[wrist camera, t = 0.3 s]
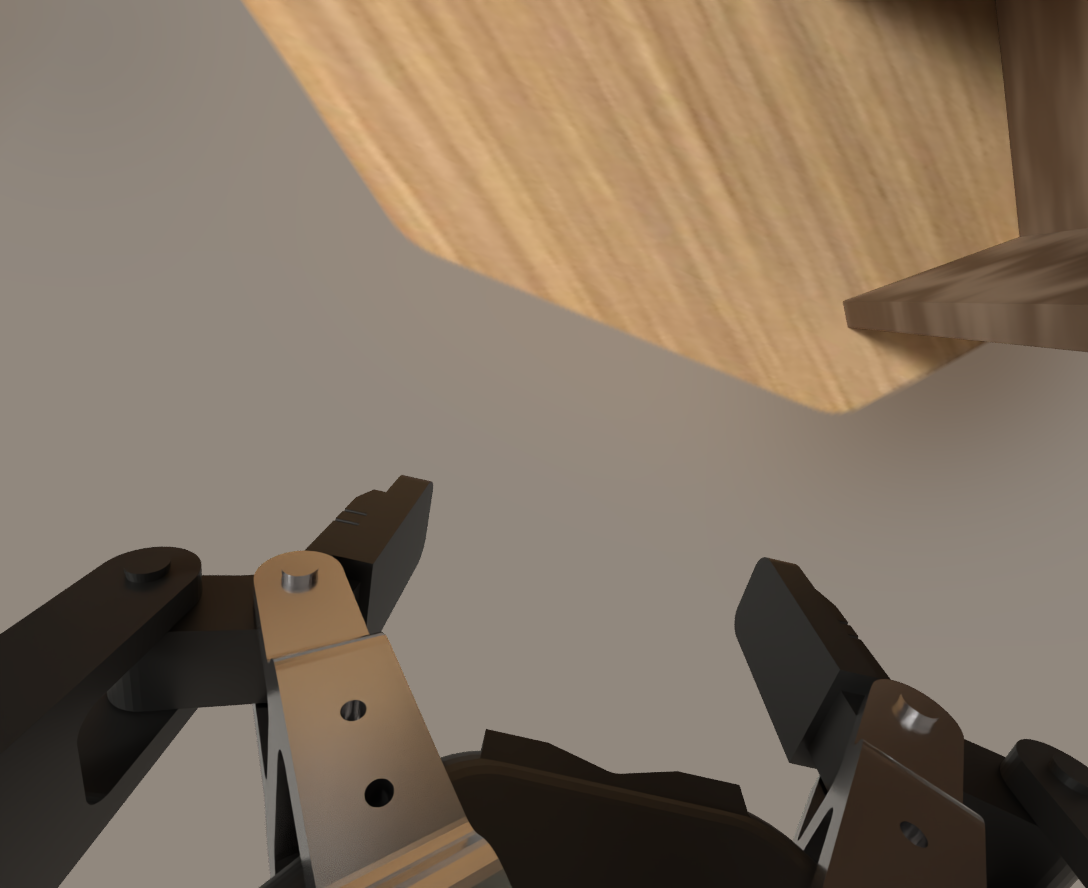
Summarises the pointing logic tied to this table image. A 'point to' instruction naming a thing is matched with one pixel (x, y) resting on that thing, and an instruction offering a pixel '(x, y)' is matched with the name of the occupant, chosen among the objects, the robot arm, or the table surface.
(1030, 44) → the brown wooden box
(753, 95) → the table surface
